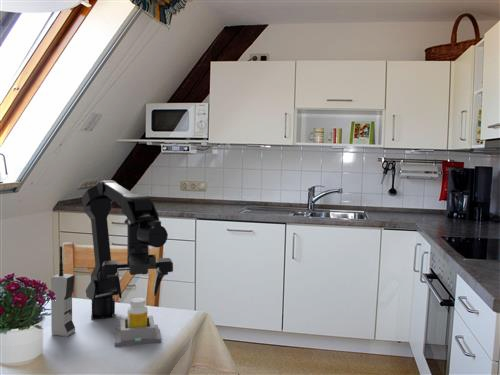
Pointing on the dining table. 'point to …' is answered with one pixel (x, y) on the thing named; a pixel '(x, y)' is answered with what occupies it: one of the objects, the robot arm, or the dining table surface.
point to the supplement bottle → (137, 313)
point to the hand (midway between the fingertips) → (137, 296)
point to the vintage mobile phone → (62, 302)
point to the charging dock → (137, 333)
